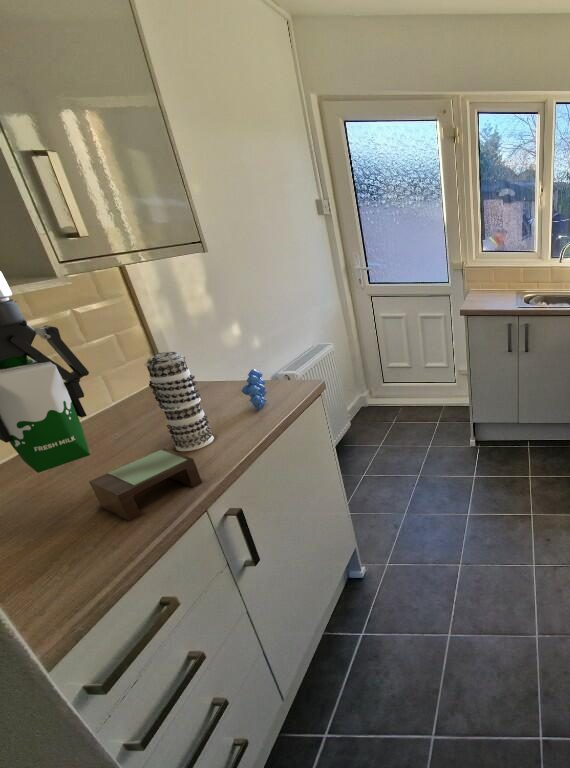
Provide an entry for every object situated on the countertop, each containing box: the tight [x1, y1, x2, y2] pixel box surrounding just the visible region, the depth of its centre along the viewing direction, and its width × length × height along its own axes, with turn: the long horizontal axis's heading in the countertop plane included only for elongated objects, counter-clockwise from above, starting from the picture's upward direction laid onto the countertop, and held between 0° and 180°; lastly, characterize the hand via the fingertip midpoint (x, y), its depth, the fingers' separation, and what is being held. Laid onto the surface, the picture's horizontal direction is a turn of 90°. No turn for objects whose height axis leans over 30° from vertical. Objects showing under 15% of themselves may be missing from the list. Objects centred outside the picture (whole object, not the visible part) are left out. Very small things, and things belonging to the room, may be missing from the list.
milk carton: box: [0, 354, 91, 474], centre depth 73 cm, size 9×9×20 cm
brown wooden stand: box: [88, 447, 203, 522], centre depth 90 cm, size 11×14×7 cm
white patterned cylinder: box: [143, 351, 215, 452], centre depth 106 cm, size 9×9×25 cm
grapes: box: [241, 368, 268, 410], centre depth 129 cm, size 12×7×12 cm, turn 19°
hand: (45, 426), depth 74 cm, fingers closed on milk carton, 9 cm apart
